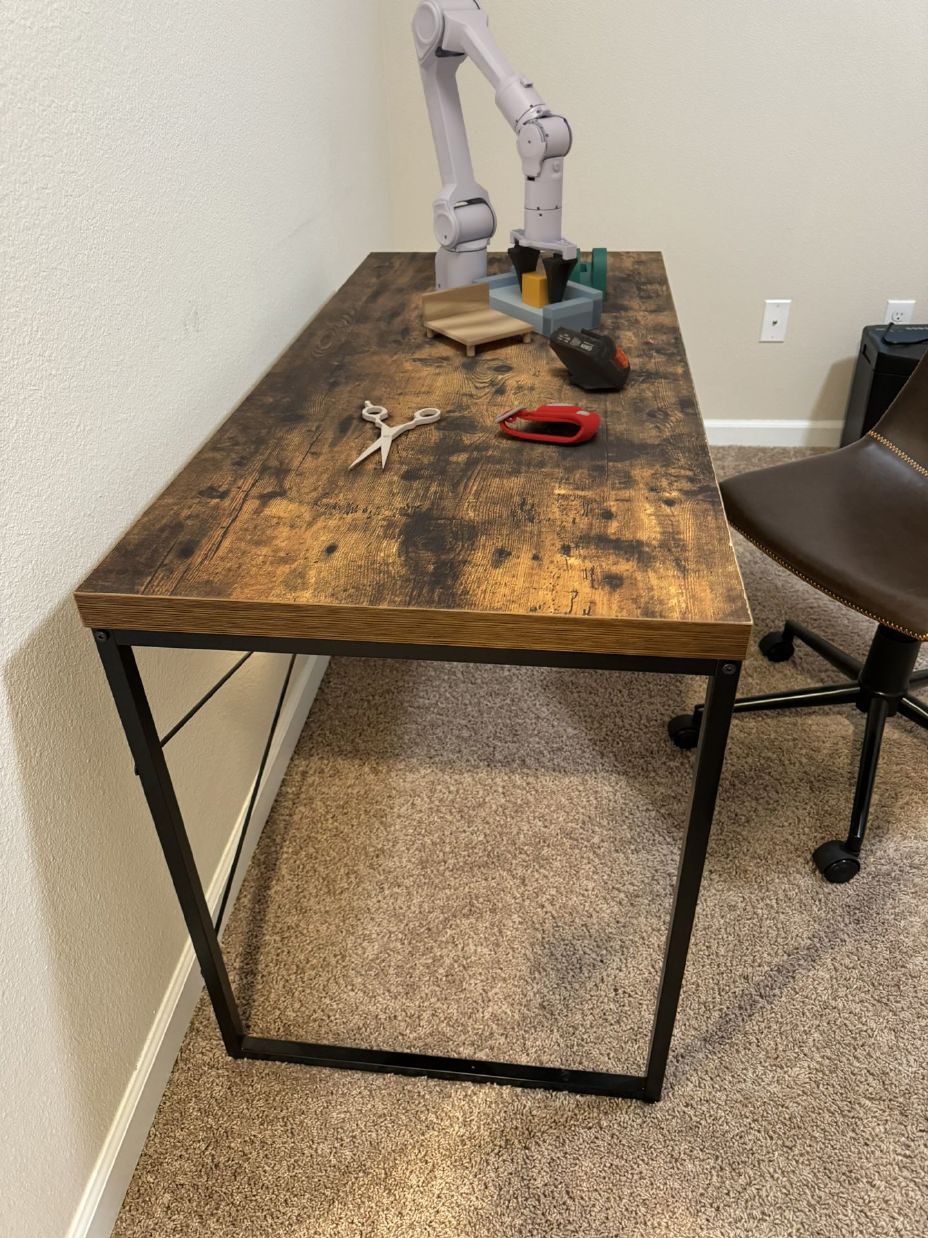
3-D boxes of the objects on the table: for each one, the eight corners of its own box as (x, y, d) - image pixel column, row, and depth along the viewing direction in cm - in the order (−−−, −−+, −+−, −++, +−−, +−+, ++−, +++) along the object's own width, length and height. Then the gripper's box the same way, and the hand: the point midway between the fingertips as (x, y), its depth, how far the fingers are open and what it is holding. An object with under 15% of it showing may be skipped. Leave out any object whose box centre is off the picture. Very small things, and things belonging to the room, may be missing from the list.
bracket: (604, 300, 158) (607, 252, 154) (565, 300, 158) (567, 253, 154) (598, 273, 173) (600, 229, 168) (562, 273, 173) (564, 229, 169)
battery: (611, 409, 122) (644, 369, 122) (580, 367, 117) (615, 325, 117) (559, 391, 131) (590, 354, 131) (529, 351, 126) (561, 313, 126)
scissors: (444, 403, 119) (410, 469, 103) (444, 409, 119) (411, 475, 103) (365, 400, 120) (320, 464, 104) (366, 406, 121) (320, 470, 105)
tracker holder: (559, 401, 117) (617, 404, 110) (558, 436, 119) (615, 441, 111) (486, 403, 110) (542, 406, 103) (486, 440, 111) (541, 446, 104)
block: (521, 302, 148) (522, 273, 145) (543, 297, 150) (544, 268, 147) (538, 308, 145) (539, 279, 142) (561, 303, 147) (562, 274, 144)
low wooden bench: (423, 336, 145) (421, 293, 141) (486, 321, 150) (485, 280, 146) (469, 357, 136) (468, 313, 132) (534, 341, 141) (534, 298, 137)
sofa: (472, 306, 157) (471, 273, 154) (519, 296, 162) (519, 264, 158) (551, 338, 142) (552, 302, 139) (600, 326, 146) (602, 291, 143)
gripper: (494, 202, 143) (494, 292, 150) (551, 217, 132) (549, 312, 140) (530, 197, 146) (529, 284, 153) (589, 211, 136) (584, 304, 143)
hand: (541, 297), depth 147 cm, fingers open, 7 cm apart
